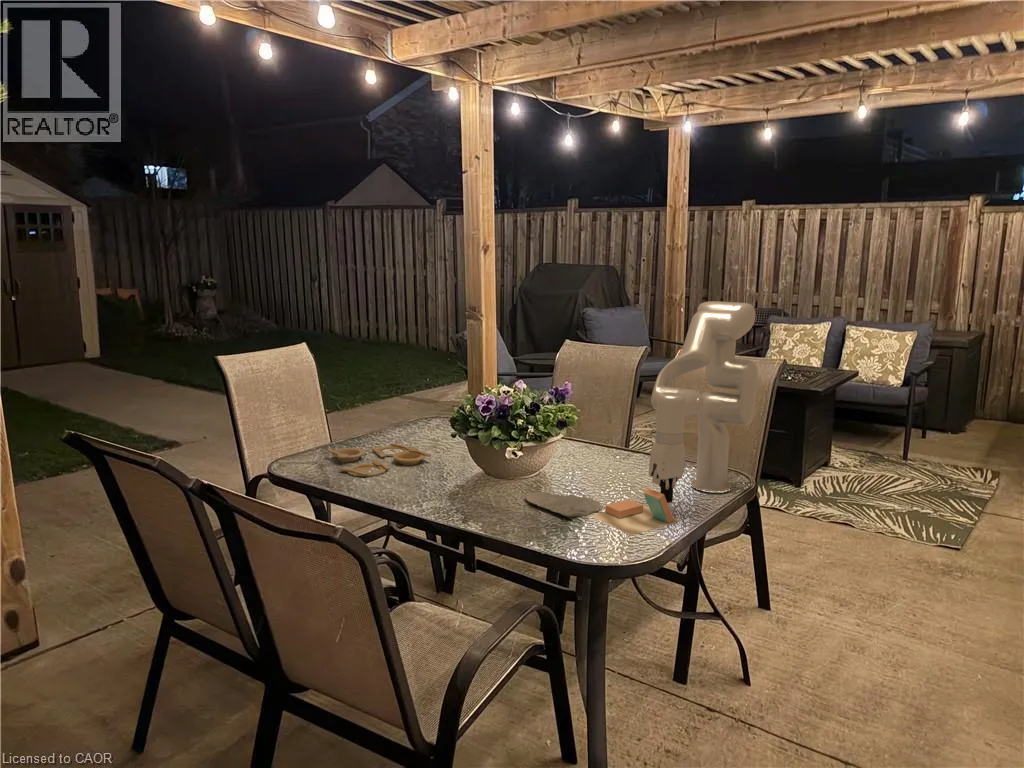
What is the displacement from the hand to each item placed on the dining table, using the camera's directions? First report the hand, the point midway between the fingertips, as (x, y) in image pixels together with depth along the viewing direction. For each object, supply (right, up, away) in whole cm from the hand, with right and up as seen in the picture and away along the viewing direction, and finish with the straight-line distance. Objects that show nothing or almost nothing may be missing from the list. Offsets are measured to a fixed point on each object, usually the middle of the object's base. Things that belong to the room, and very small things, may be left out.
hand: (666, 501), depth 200 cm
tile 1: (-7, -3, +8) cm, 11 cm away
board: (-8, -6, +2) cm, 10 cm away
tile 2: (-1, -5, 0) cm, 5 cm away
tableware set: (-91, +4, +58) cm, 108 cm away
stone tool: (-28, -4, +13) cm, 32 cm away
